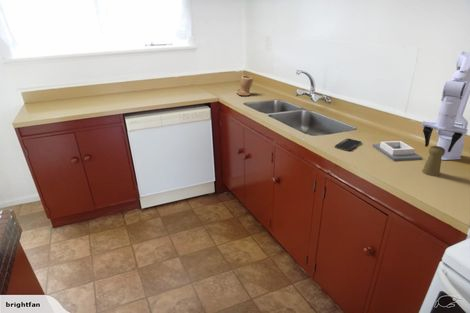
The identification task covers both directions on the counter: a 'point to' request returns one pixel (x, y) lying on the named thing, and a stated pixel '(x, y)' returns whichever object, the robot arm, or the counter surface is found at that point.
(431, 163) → the cork
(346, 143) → the phone
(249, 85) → the stone cup
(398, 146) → the socket dock
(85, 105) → the counter surface
